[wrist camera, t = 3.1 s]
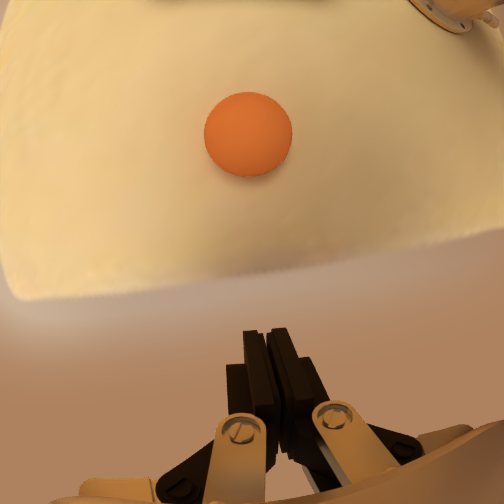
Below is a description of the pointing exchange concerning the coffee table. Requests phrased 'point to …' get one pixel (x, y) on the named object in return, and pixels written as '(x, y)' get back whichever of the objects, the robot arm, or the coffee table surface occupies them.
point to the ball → (248, 134)
